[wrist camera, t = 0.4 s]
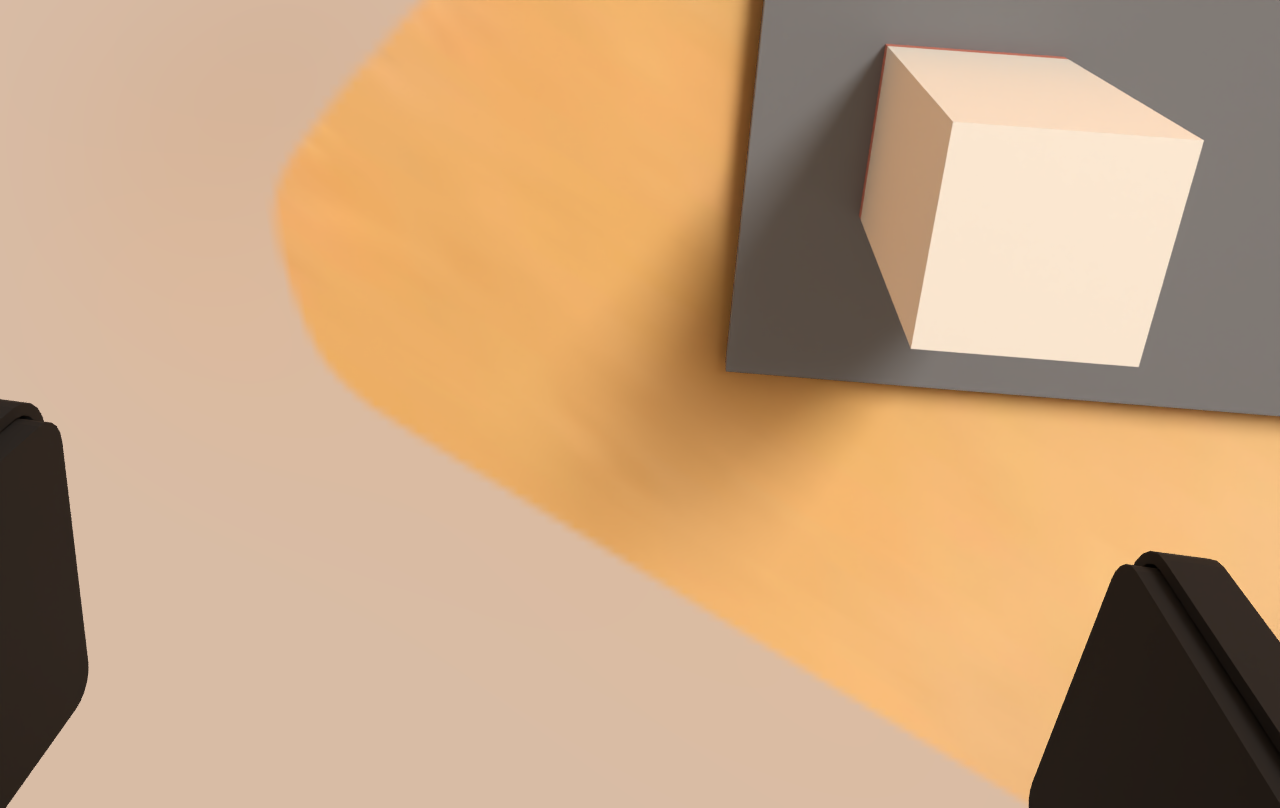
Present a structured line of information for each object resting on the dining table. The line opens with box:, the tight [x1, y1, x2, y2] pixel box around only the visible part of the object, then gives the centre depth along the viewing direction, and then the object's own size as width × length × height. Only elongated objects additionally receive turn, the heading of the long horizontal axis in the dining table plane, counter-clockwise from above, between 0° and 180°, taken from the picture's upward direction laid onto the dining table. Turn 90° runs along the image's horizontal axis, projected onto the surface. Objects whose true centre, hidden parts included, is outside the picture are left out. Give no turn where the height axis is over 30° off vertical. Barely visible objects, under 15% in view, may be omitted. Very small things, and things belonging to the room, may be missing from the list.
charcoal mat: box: [726, 0, 1280, 416], centre depth 33 cm, size 20×16×1 cm
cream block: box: [859, 44, 1204, 367], centre depth 28 cm, size 5×5×10 cm
